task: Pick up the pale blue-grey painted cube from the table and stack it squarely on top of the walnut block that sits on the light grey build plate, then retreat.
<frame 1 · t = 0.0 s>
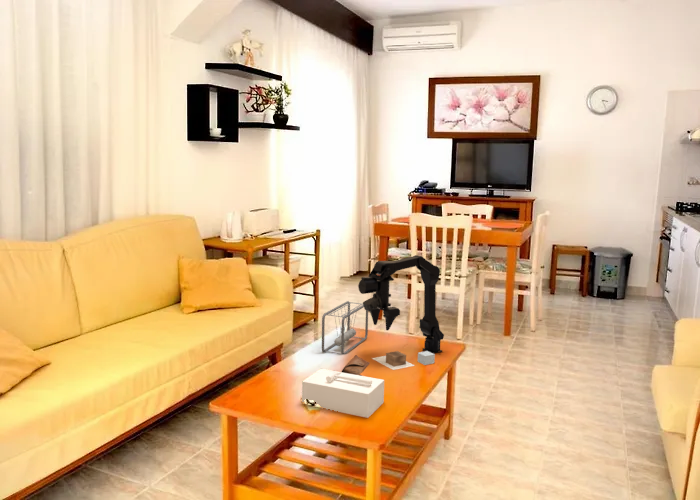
hand: (381, 327, 256), 15 cm above the table, fingers open, 9 cm apart
base block: (395, 363, 253), point 1 cm above the table, touching build plate
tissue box: (343, 404, 213), on the table
top block: (425, 364, 255), on the table
newton's cradle: (345, 346, 278), on the table
build plate: (392, 364, 254), on the table
sunglasses case: (357, 371, 247), on the table
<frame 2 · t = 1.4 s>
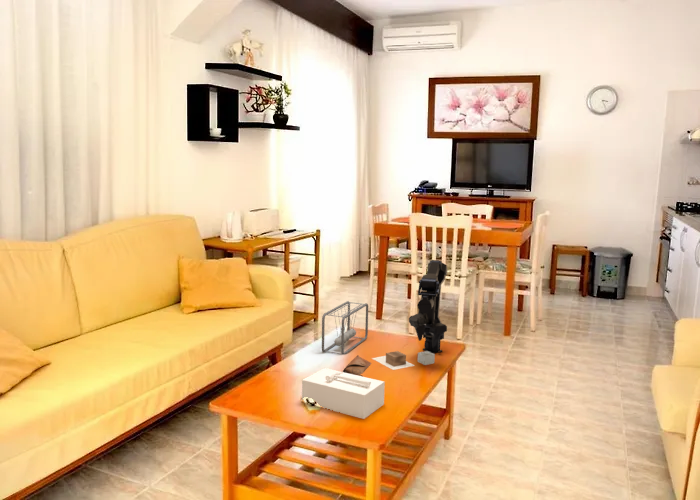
hand: (426, 343, 253), 9 cm above the table, fingers open, 9 cm apart
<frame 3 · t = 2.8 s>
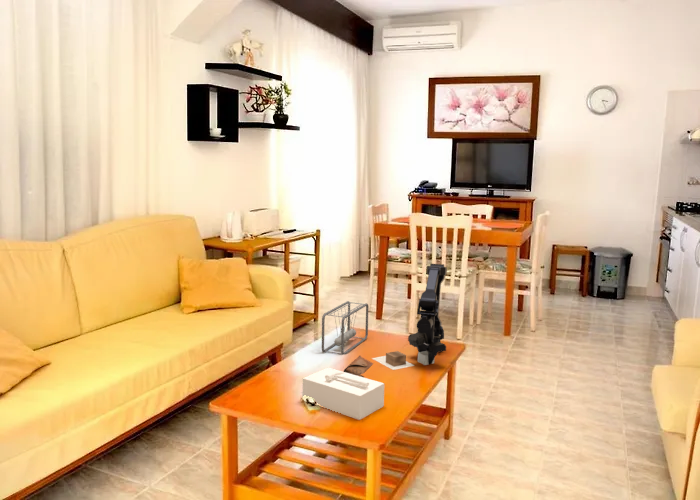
hand: (425, 362, 255), 1 cm above the table, fingers closed on top block, 5 cm apart
top block: (425, 364, 255), on the table, touching gripper
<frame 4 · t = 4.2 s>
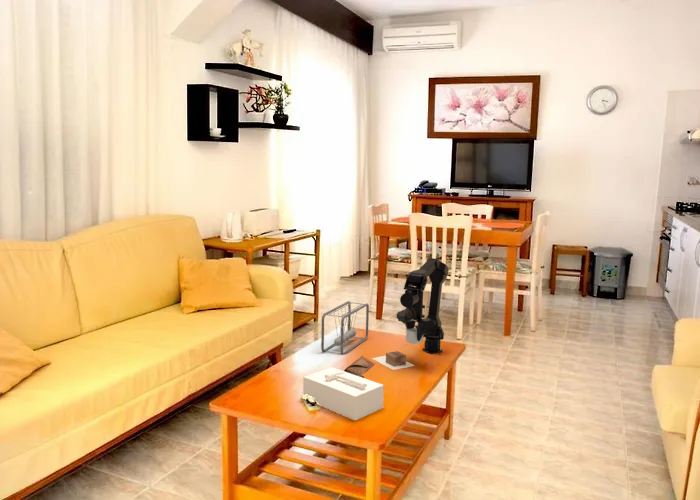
hand: (414, 339, 252), 11 cm above the table, fingers closed on top block, 5 cm apart
top block: (414, 341, 252), point 10 cm above the table, touching gripper
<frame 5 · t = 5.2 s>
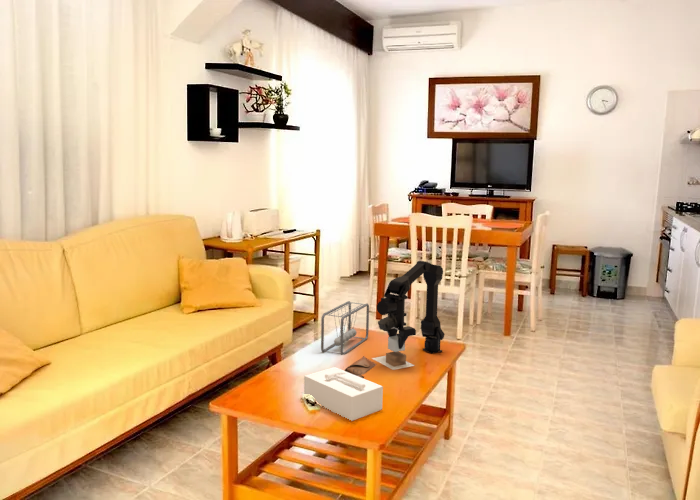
hand: (396, 347, 252), 8 cm above the table, fingers closed on top block, 5 cm apart
top block: (396, 349, 252), point 7 cm above the table, touching gripper
when the fingers open (7 cm above the table, at t = 5.8 s): top block stays where it is, resting on base block.
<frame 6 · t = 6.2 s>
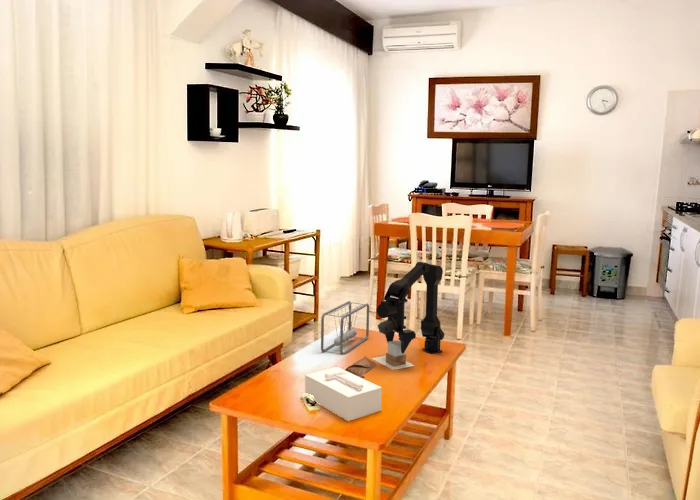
hand: (396, 350, 252), 7 cm above the table, fingers open, 9 cm apart
base block: (395, 363, 253), point 1 cm above the table, touching build plate, top block
top block: (396, 354, 252), point 5 cm above the table, touching base block
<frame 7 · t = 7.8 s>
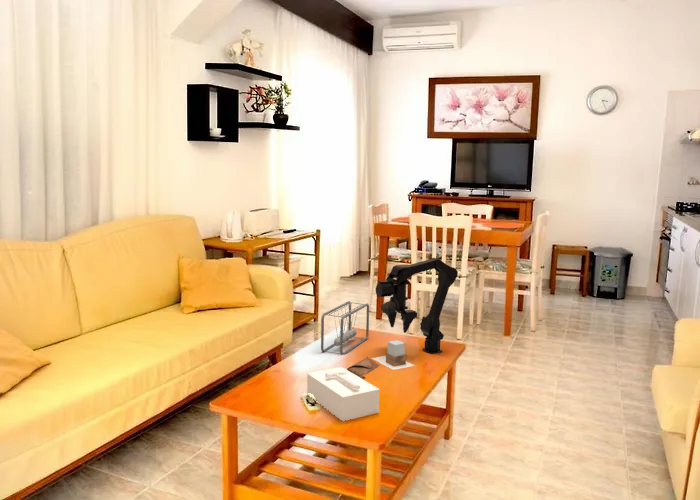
hand: (398, 329, 263), 12 cm above the table, fingers open, 9 cm apart
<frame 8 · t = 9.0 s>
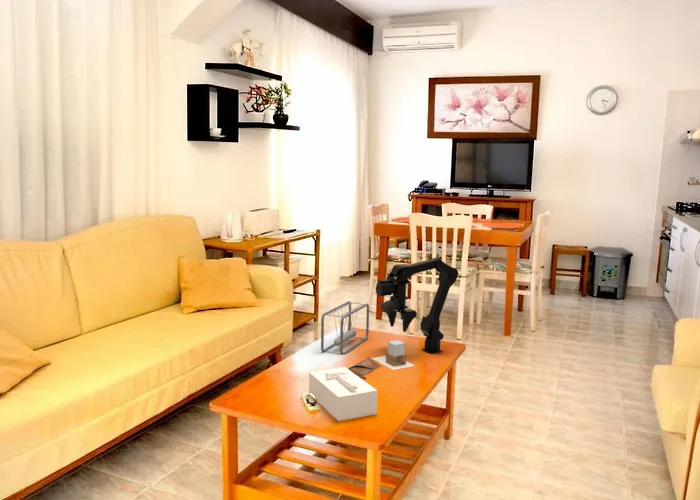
hand: (398, 329, 263), 12 cm above the table, fingers open, 9 cm apart
at the end: top block 0.0 cm off-centre on the base block, point 4.0 cm above the base block's base; top block tilted 0°; base block moved 0.0 cm from its start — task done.
